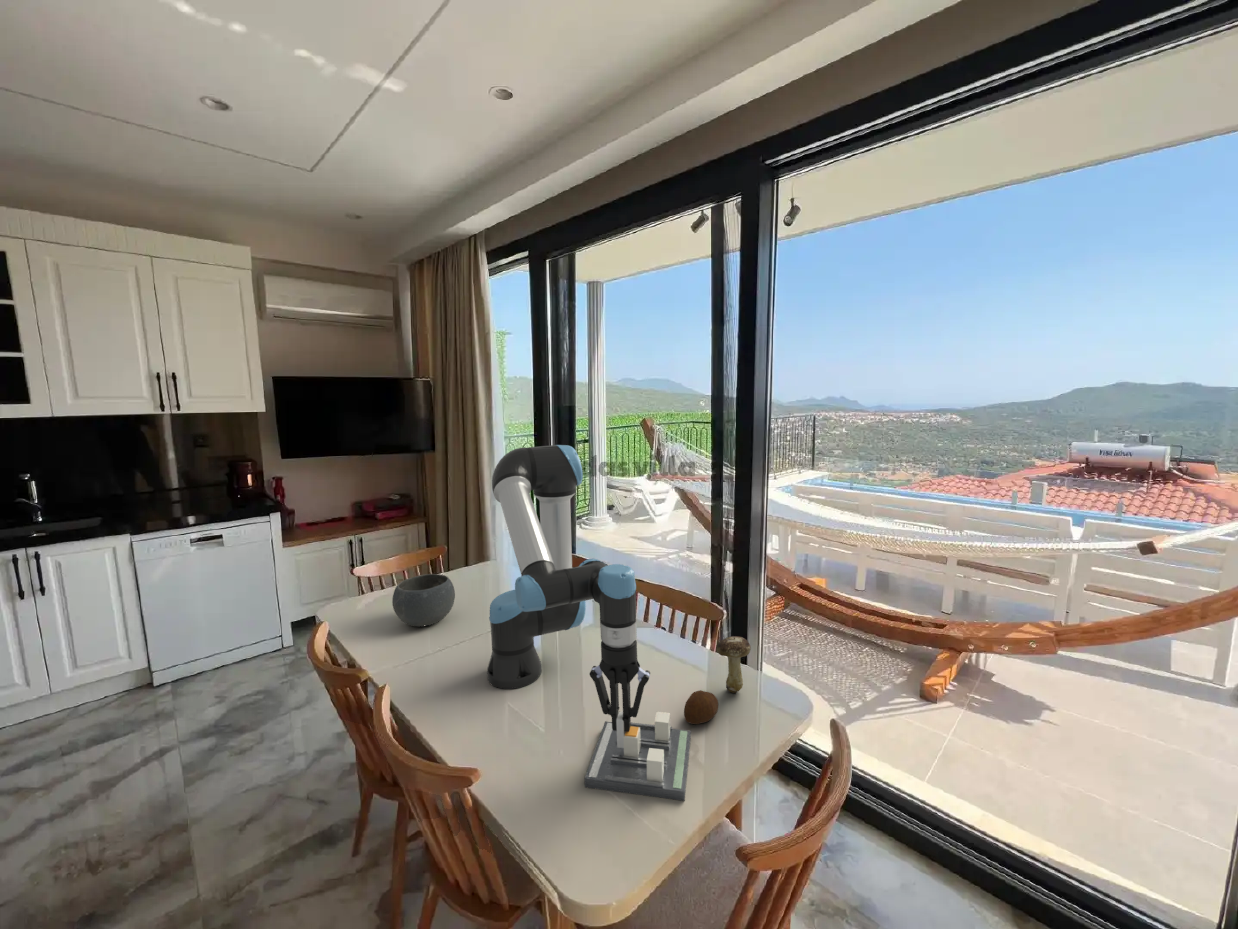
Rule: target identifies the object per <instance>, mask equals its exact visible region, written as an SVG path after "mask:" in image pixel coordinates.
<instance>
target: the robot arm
mask: <svg viewBox="0 0 1238 929" xmlns="http://www.w3.org/2000/svg"><path fill="white" fill-rule="evenodd" d="M582 482H583V467H582V463H581V460H580V457H579V454H578V453H577V451H576V449H575V448H574V447H573V446H571V445H568V444H567V445H566V444H554V445H541V446H531V447H524V446H523V447H518V448H514V449H512V450H510V451H509V452H507V453H506V454H504V455H503V456H502V458H500V460H499V461H498V463H497V465H496V466H495V468H494V470H493V472H492V476H491V489H492V493H493V497H494V499H495V500H496V501H497V502H498V503H500V506H501V510H502V513H503V517H504V520H505V521H504V522H505V524H506V526H507V527H506V528H507V530H508V534H509V537H510V540H511V546H512V547H513V548H512V549H513V551H514V554H515V557H516V561H517V565H518V568H519V573H520V576H518V577H516V579H515V581H514V583H515V584H514V589H511V590H508V591H506V592H502V593H501V594H499V595H497V596H496V597H495V598H493V599H492V601H491V603H490V605H489V617H488V619H489V622H490V635H491V637H490V638H491V655H490V658H489V662H488V666H487V669H486V671H487V672H486V677H487V681H489V682H490V683H491V684H492V685H491V684H490V683H489V682H488V683H489V684H490V685H491V686H493V687H495V688H497V687H498V689H503V690H512V689H519V688H522V687H523V688H524V687H526V686H529V685H530V684H532V683H534V682H535V681H537V680H538V679H539V678H540V676H541V675H542V663H541V659H540V657H539V653H538V652H537V649H536V647H535V641H534V640H535V639H534V638H535V637H539V636H543V635H548V634H551V633H557V632H561V631H569V630H570V629H573V628H577V627H579V626H580V625H581V624H582V623H583V621H584V618H585V615H586V607H587V605H586V604H587V603H586V602H587V601H588V600H594V601H595V602H596V603H597V604H598V605H599V623H600V640H601V641H600V651H601V652H600V653H601V656H600V657H601V660H600V662H599V665H593V666H592V667H591V670H590V671H589V676H590V678H591V679H592V681H593V682H594V686H595V690H596V693H597V696H598V700H599V704H600V708H601V710H602V713H603V714H604V715H608V716H610V717H611V722H612V729H613V730H614V731H617V747H618V748H624V738H623V736H624V733H625V732H629V730H630V727H631V718H637V716H638V713H639V709H640V706H641V701H642V698H643V697H642V696H643V693H644V689H645V686H646V685H647V683H648V682H649V680H650V676H651V672H650V670H644V669H643V668H642V667H641V664H640V663H639V661H638V642H637V637H638V636H637V631H638V630H637V628H638V627H637V591H636V590H637V583H636V577H635V571H634V569H633V568H632V567H631V566H629V565H624V564H620V563H615V564H608V563H606V562H604V561H601V560H600V559H598V558H587V559H586V560H584V561H582V562H581V563H580V564H579V565H578V566H575V567H574V566H573V553H572V551H573V550H572V545H573V544H572V518H571V516H572V514H571V512H572V511H571V509H572V508H571V499H572V498H573V496H575V495H576V487H578V486H580V485H581V484H582ZM531 491H533V496H534V497H535V498H536V499H537V500H538V501H539V516H540V517H538V514H537V510H536V508H535V505H534V502H533V499H532V497H531V494H530V493H531ZM539 519H540V520H539ZM603 674H604V676H605V677H606V679H607V680H608V681H609V692H610V693H609V694H610V699H609V694H608V691H607V687H606V684H605V680H604V676H603ZM636 675H637V680H638V685H637V688H636V694H635V697H634V702H633V706H632V707H631V702H632V700H631V682H632V680H633V679H634V678H635V677H636ZM619 684H620V685H621V690H622V691H621V693H622V694H621V695H622V696H621V697H622V698H621V699H622V711H619V710H620V703H619V702H620V699H619V697H620V696H619V694H620V693H619Z"/></svg>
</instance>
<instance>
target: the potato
mask: <svg viewBox="0 0 1238 929" xmlns="http://www.w3.org/2000/svg"><path fill="white" fill-rule="evenodd" d="M683 709H684V710H683V716H684V720H685V722H686V723H688V724H691V725H699V724H703V723H707V722H709V721H710V720H712V719H713V718H714V717H715V716H716V715H717V713H718V711H719V700H718V698H717V696H716V695H715V694H714V693H712V692H709V691H705V690H704V691H703V690H697V691H694V692H692V693H691V694H690V695H689V697H688V698H687V700H686V701H685V704H684V708H683Z"/></svg>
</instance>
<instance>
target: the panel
mask: <svg viewBox="0 0 1238 929" xmlns="http://www.w3.org/2000/svg"><path fill="white" fill-rule="evenodd" d="M631 726H634V727H640V740H641V747H640V751H639V756H638V757H630V756H624V748H618V747H617V731H614V730H613V729H612V721H604V724H603V726H602V729H601V731H600V735H599V736H598V740H597V743H596V746H595V748H594V750H593V753H592V756H591V760H590V762H589V765H588V768H587V771H586V773H585V775H584V788H587V787H588V788H587V789H595V788H596V790H601V791H602V790H604V791H609V792H617V793H623V794H624V793H625V794H631V795H632V794H633V795H639V796H648V797H655V798H661V799H662V798H663V799H670V800H676V801H683V802H685V801H686V791H687V781H688V772H689V771H688V770H689V762H690V761H689V760H690V751H691V750H690V749H691V742H692V740H691V739H692V738H691V736H692V734H691V732H692V731H691V730H687V729H678V728H673V726H670V736H669V741H661V740H655V724H648V723H639V722H631ZM649 748H654V749H663V750H664V774H663V780H662V783H661V782H654V781H647V756H648V751H649Z"/></svg>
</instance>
